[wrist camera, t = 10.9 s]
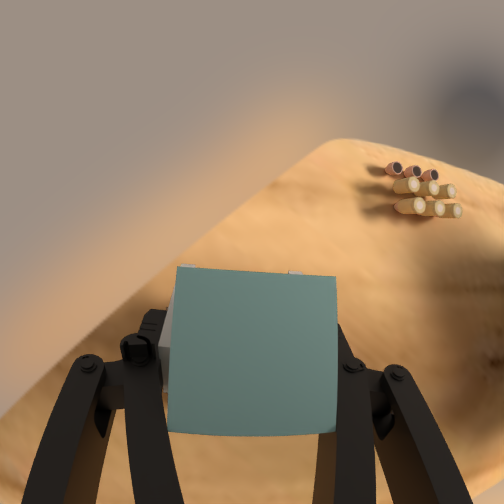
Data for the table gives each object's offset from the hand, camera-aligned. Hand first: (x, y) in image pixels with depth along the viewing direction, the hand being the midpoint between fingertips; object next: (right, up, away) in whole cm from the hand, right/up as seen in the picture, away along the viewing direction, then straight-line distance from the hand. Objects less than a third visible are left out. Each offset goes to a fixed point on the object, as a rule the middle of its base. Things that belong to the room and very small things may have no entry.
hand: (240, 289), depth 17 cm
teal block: (0, -5, +2) cm, 5 cm away
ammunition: (+20, +8, +16) cm, 27 cm away
